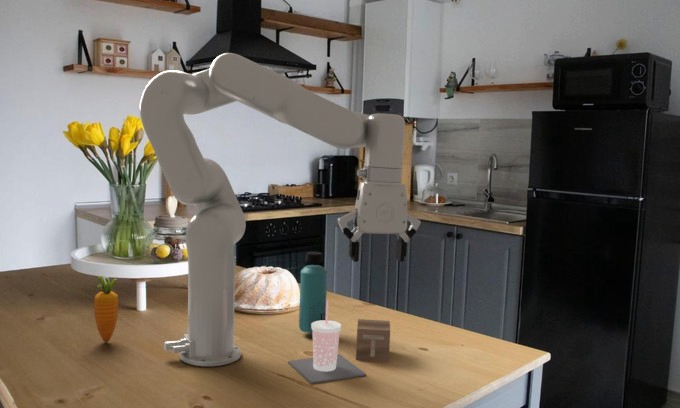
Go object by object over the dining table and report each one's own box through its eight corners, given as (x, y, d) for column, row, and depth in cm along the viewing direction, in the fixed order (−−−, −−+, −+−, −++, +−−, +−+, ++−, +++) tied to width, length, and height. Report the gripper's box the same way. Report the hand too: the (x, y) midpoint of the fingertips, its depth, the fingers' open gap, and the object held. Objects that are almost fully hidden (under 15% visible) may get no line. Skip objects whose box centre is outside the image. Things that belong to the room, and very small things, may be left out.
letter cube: (388, 362, 136) (390, 330, 135) (355, 360, 136) (357, 328, 136) (387, 351, 143) (389, 320, 142) (356, 349, 143) (358, 319, 143)
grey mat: (311, 384, 122) (311, 382, 122) (288, 362, 133) (288, 361, 133) (366, 375, 128) (366, 373, 128) (339, 356, 138) (339, 354, 138)
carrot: (123, 341, 142) (123, 275, 140) (106, 348, 137) (106, 279, 136) (106, 337, 144) (106, 272, 142) (89, 344, 139) (89, 276, 138)
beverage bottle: (322, 340, 148) (325, 255, 146) (294, 337, 149) (297, 253, 147) (328, 332, 154) (331, 251, 152) (301, 329, 156) (304, 248, 153)
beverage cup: (325, 359, 135) (327, 294, 133) (345, 368, 130) (348, 301, 129) (303, 366, 130) (305, 299, 129) (324, 375, 126) (326, 306, 124)
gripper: (346, 176, 121) (341, 264, 123) (430, 179, 126) (424, 264, 128) (335, 173, 129) (331, 256, 131) (415, 176, 133) (410, 256, 135)
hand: (377, 260), depth 129 cm, fingers open, 9 cm apart
